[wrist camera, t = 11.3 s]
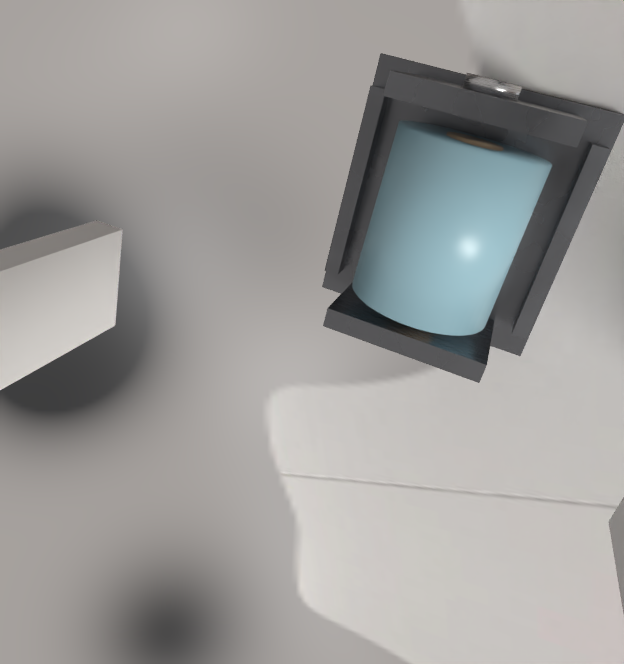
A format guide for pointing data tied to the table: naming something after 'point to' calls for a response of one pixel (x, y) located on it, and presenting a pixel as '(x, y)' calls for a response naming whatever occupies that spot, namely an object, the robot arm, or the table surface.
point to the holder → (541, 232)
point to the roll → (446, 227)
